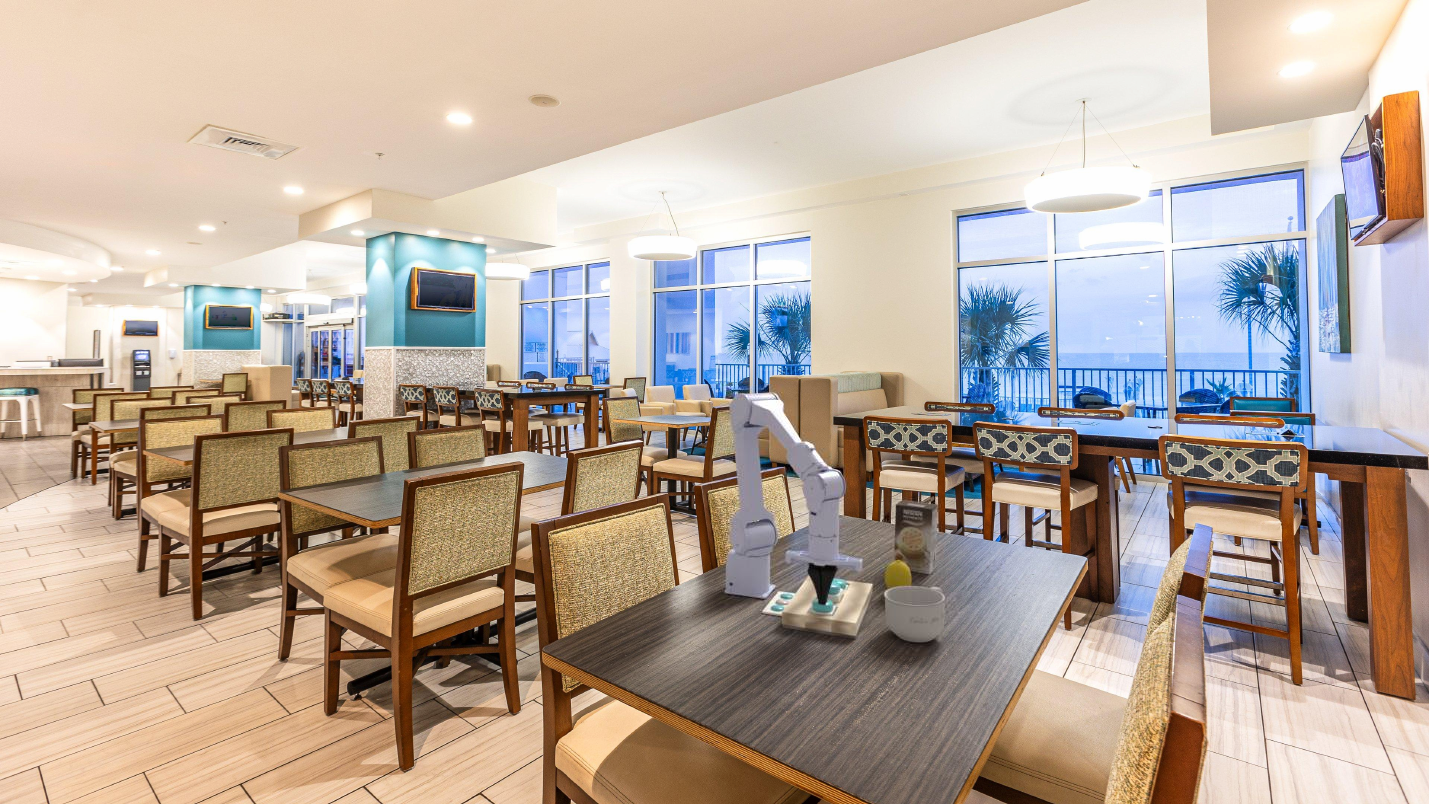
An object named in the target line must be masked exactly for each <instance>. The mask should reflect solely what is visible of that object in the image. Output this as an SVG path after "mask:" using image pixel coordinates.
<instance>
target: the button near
mask: <svg viewBox="0 0 1429 804" xmlns="http://www.w3.org/2000/svg"><path fill="white" fill-rule="evenodd" d="M835 612H836V606H833V602H832V601H830V600H828V601H827V603H826V605H822V604H818V599H815V600H813V601H812V607H811V609H810V610H809V613H813V614H820V615H826V616H834V614H835Z"/></svg>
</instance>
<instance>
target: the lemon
mask: <svg viewBox="0 0 1429 804" xmlns="http://www.w3.org/2000/svg"><path fill="white" fill-rule="evenodd" d="M911 572H912V571H910V569H909V567H908V566H907V565H906V564H905V563H903V562H901V561H900V560H897V561H894V560H893V561H892V562H891V563H889V564H888V565H887V567H886V569H885V574H884V582H885V583H884V584H885V585H886V587H887V590H888V589H890V588H894V587H899V586H912V573H911Z"/></svg>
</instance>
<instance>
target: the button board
mask: <svg viewBox="0 0 1429 804" xmlns="http://www.w3.org/2000/svg"><path fill="white" fill-rule="evenodd" d="M806 577H807V578H806V579H805V580H804V582H803V583H802V585H801V586H800V587H799V588H798V589H797V591H796V592H795V595H794V596H793V598H792V599H791V600H790V602H789V603H788V604H787V606H786V607H785V609H784V610H783V611H782V616H781V627H782V628H784V629H791V630H796V631H797V630H798V631H802V632H803V631H804V632H808V633H809V632H810V633H815V634H821V635H828V636H834V637H838V638H840V637H841V638H845V639H852V640H856V639H857V637H858V634H859V632H860V629H861V628H862V627H861V626H862V624H863V623H864V622H863V621H864V619H865V616H866V614H867V612H868V609H869V607H870V604H871V601H872V600H873V589H874V588H873V585H874V584H873V583H868V582H859V581H853V580H852V581H851V580H845V581H846V585H849V587H848V589H847V591H843V598H842V600H841V602H840V603H835V602H833V606H836V612H835V614H834V616H826V615H820V614H813V613H809V610H810V609H811V607H812V601H813V600H815V599H817V594H816V590H815V587H814V585H813V582H812V580H811V578H810V576H809V575H808V576H806Z"/></svg>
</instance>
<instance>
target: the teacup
mask: <svg viewBox="0 0 1429 804" xmlns="http://www.w3.org/2000/svg"><path fill="white" fill-rule="evenodd" d="M883 597H884V605H885V612H884V613H885V620H886V623H887V626H888V628H889V629H890V631H891V632H892V633H893V634H895V635H896V636H897V637H898V638H899V639H901V640H903V641H906V642H911V643H926V642H927V643H928V642H930V641H932V640H934V639H936V637H937V636H939V635H940V634H941V633H942V632H943V630H944V628H945V619H946V618H945V617H946V616H945V614H946V613H945V611H946V610H945V601H946V597H945V595H944V593H943V590H942V589H941V588H940V587H938V586H932V587H930V588H929V587H925V586H920V585H919V586H918V585H911V586H899V587H894V588H890V589H888V588H887V589H886V590H885V591H884V593H883Z"/></svg>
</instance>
